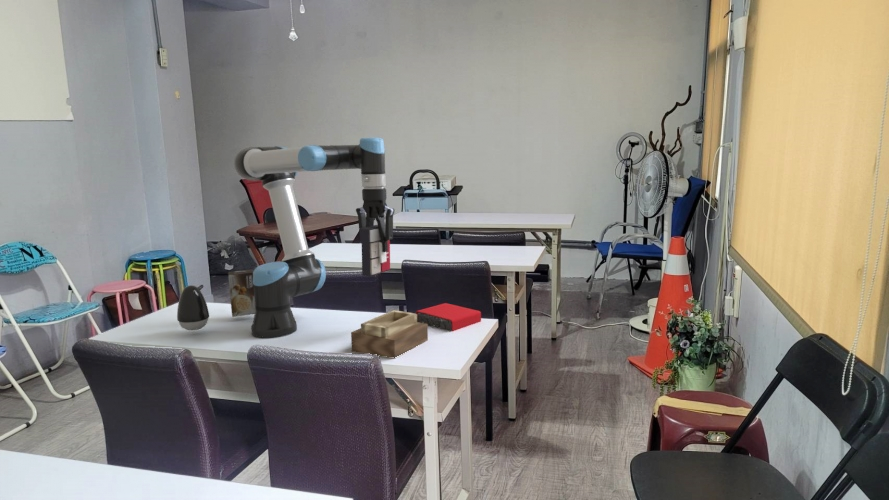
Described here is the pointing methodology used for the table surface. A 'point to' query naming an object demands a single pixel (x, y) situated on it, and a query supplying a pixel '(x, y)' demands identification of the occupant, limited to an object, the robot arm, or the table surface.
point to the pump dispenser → (192, 308)
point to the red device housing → (448, 316)
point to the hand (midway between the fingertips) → (377, 261)
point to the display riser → (389, 334)
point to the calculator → (372, 252)
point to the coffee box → (241, 292)
